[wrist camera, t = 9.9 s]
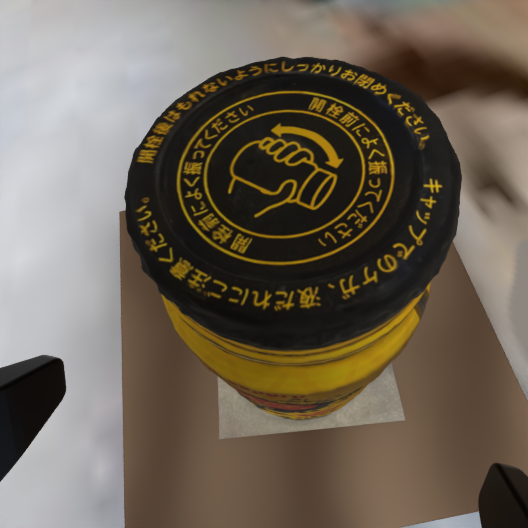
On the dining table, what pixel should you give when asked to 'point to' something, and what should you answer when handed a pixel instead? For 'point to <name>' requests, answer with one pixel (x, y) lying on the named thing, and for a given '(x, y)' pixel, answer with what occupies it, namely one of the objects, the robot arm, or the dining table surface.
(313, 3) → the dining table surface
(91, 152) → the dining table surface
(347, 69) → the condiment
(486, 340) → the walnut board
